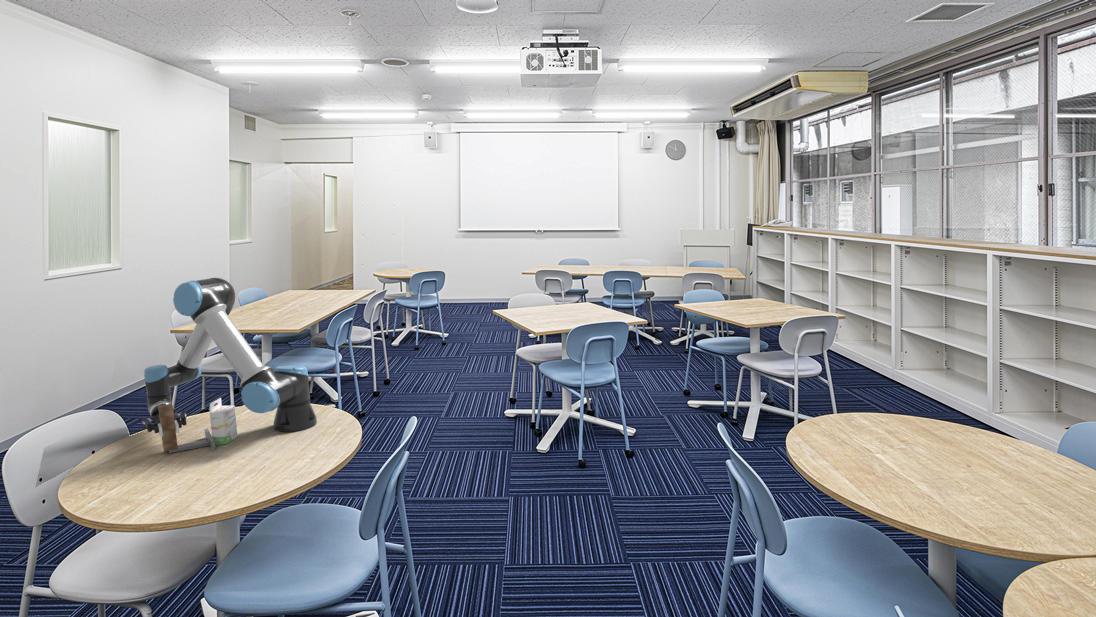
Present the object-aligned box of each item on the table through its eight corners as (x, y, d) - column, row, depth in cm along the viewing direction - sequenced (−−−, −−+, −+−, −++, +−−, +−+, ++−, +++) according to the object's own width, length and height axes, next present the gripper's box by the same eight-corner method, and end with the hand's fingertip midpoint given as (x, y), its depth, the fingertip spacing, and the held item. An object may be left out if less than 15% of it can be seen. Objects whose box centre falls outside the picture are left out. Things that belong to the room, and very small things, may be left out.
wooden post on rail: (208, 436, 226) (203, 393, 224) (215, 449, 213) (210, 404, 211) (161, 445, 218) (156, 401, 215) (166, 459, 205) (160, 413, 202)
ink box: (226, 444, 218) (222, 404, 216) (212, 445, 218) (207, 404, 216) (238, 436, 226) (234, 396, 224) (224, 436, 226) (220, 397, 224)
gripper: (191, 418, 231) (199, 435, 212) (136, 428, 221) (140, 447, 202) (188, 399, 230) (197, 414, 211) (133, 408, 220) (137, 425, 201)
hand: (169, 430), depth 207 cm, fingers closed on wooden post on rail, 4 cm apart
